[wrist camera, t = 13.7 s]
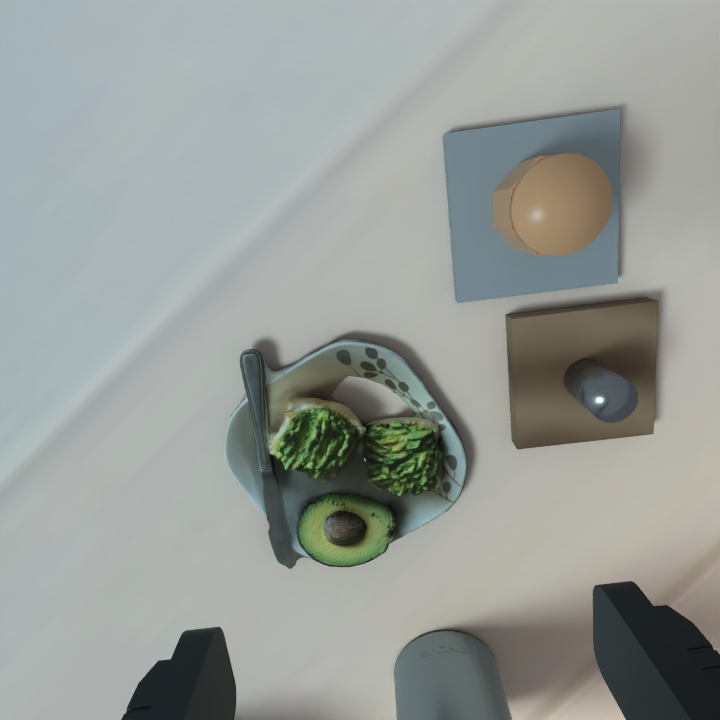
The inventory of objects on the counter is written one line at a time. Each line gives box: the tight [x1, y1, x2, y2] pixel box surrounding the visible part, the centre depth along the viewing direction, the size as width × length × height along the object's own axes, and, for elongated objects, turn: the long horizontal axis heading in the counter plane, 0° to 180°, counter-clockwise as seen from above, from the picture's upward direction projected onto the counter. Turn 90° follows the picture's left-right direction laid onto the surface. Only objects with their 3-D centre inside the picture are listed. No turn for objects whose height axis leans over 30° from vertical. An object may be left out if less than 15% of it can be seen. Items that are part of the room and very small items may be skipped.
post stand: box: [506, 297, 658, 449], centre depth 35 cm, size 10×10×6 cm
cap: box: [493, 153, 612, 256], centre depth 31 cm, size 6×6×5 cm
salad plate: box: [225, 338, 467, 569], centre depth 38 cm, size 19×18×5 cm
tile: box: [443, 109, 620, 303], centre depth 34 cm, size 11×11×1 cm
